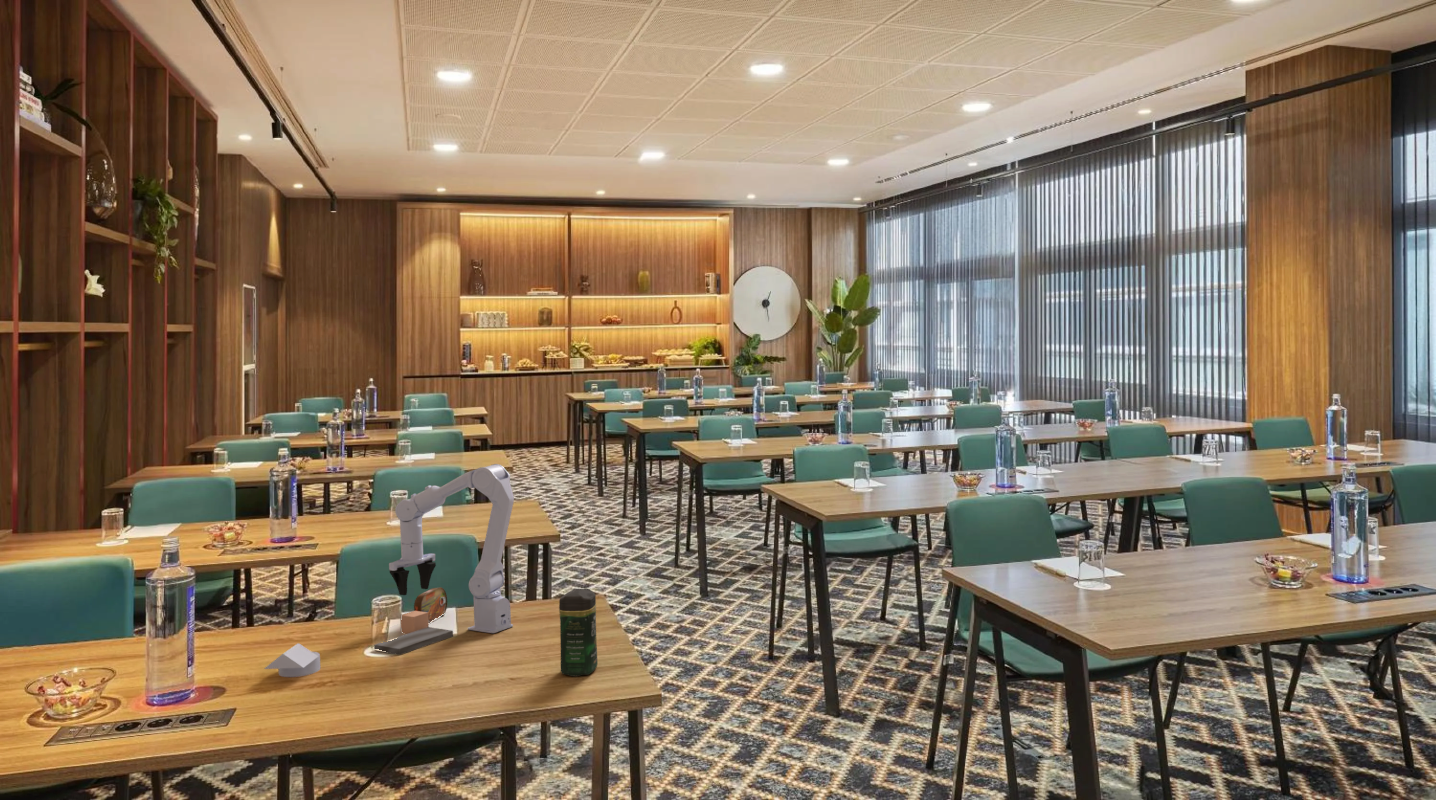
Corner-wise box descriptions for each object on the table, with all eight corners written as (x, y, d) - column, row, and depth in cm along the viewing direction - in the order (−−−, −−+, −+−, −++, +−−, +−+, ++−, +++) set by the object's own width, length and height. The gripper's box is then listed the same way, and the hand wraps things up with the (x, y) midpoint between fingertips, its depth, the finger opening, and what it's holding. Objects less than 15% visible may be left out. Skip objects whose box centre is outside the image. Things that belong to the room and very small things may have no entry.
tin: (423, 627, 265) (421, 596, 265) (412, 627, 266) (411, 596, 266) (448, 613, 280) (447, 584, 280) (438, 613, 281) (437, 584, 280)
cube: (428, 630, 262) (428, 612, 262) (414, 635, 257) (413, 616, 257) (415, 628, 264) (414, 610, 264) (401, 633, 260) (400, 614, 260)
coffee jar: (591, 677, 218) (588, 595, 217) (557, 677, 218) (554, 595, 218) (601, 664, 227) (599, 585, 227) (568, 664, 228) (566, 585, 227)
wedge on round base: (304, 682, 220) (326, 664, 233) (302, 652, 220) (325, 636, 233) (264, 683, 220) (288, 665, 233) (262, 654, 220) (287, 638, 233)
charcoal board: (453, 636, 255) (452, 630, 255) (399, 654, 240) (399, 648, 239) (428, 632, 260) (428, 626, 260) (374, 650, 244) (374, 644, 244)
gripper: (422, 537, 274) (424, 584, 274) (380, 546, 262) (382, 595, 262) (439, 538, 270) (441, 586, 271) (398, 547, 258) (400, 598, 258)
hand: (414, 591), depth 266 cm, fingers open, 7 cm apart
